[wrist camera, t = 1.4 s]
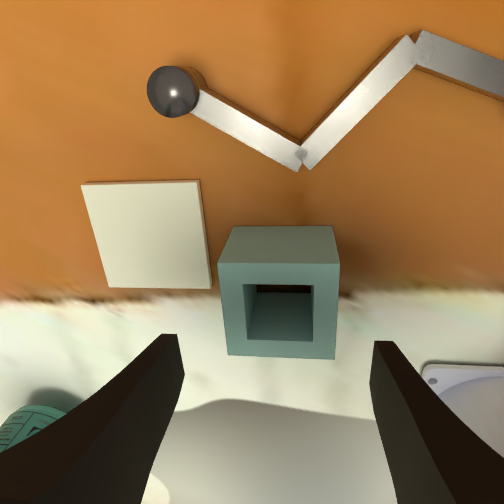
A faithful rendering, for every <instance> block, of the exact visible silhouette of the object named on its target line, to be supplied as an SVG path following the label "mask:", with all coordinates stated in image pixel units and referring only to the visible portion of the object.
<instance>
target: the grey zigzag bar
mask: <svg viewBox="0 0 504 504" xmlns="http://www.w3.org/2000/svg"><path fill="white" fill-rule="evenodd" d="M412 68H416V69H418V70H421V71H424V72H426V73H429V74H431V75H434V76H437V77H439V78H442V79H445V80H447V81H450V82H452V83H455V84H458V85H460V86H463V87H466V88H468V89H471V90H473V91H476V92H479V93H481V94H484V95H486V96H489V97H492V98H494V99H497V100H500V101H502V102H504V61H502V60H499V59H497V58H494V57H491V56H489V55H486V54H484V53H481V52H478V51H476V50H473V49H471V48H468V47H465V46H463V45H460V44H458V43H455V42H453V41H450V40H447V39H445V38H442V37H440V36H437V35H434V34H432V33H429V32H427V31H424V30H421V31H418V32H415V33H413V34H411V36H410V38H409V37H408V35H407V34H406V35H404V36H401V37H399V38H397V39H396V40H395V41H394V42H393V43H392V44H391V45H390V46H389V47H388V48H387V49H386V50H385V51H384V53H383V54H382V55H381V56H380V57H379V58H378V59H377V60H376V61H375V62H374V63H373V64H372V65H371V66H370V67H369V69H368V70H367V71H366V72H365V73H364V74H363V75H362V76H361V77H360V78H359V79H358V80H357V81H356V82H355V83H354V84H353V86H352V87H351V88H350V89H349V90H348V91H347V92H346V93H345V94H344V95H343V96H342V97H341V98H340V99H339V100H338V102H337V103H336V104H335V105H334V106H333V107H332V108H331V109H330V110H329V111H328V112H327V113H326V114H325V115H324V116H323V118H322V119H321V120H320V121H319V122H318V123H317V124H316V125H315V126H314V127H313V128H312V129H311V130H310V131H309V132H308V133H307V135H306V136H305V137H304V138H303V139H302V140H301V141H299V140H297V139H296V138H294V137H292V136H290V135H289V134H287V133H285V132H284V131H282V130H280V129H278V128H277V127H275V126H273V125H271V124H270V123H268V122H266V121H264V120H263V119H261V118H259V117H257V116H256V115H254V114H252V113H250V112H249V111H247V110H245V109H243V108H242V107H240V106H238V105H237V104H235V103H233V102H231V101H230V100H228V99H226V98H224V97H223V96H221V95H219V94H217V93H216V92H214V91H212V90H210V89H209V88H207V84H206V81H205V79H204V77H203V76H202V75H201V74H200V73H199V72H198V71H197V70H195V69H193V68H189V67H177V66H162V67H160V68H158V69H156V70H155V71H154V72H153V73H152V74H151V76H150V77H149V80H148V83H147V95H148V98H149V101H150V103H151V105H152V106H153V108H154V109H155V110H156V111H157V112H158V113H160V114H161V115H163V116H165V117H170V118H175V117H179V116H182V115H185V114H188V113H192V114H194V115H195V116H197V117H199V118H201V119H202V120H204V121H206V122H208V123H210V124H211V125H213V126H215V127H217V128H218V129H220V130H222V131H224V132H226V133H227V134H229V135H231V136H233V137H234V138H236V139H238V140H240V141H242V142H243V143H245V144H247V145H249V146H250V147H252V148H254V149H256V150H258V151H259V152H261V153H263V154H265V155H266V156H268V157H270V158H272V159H274V160H275V161H277V162H279V163H281V164H282V165H284V166H286V167H288V168H290V169H291V170H293V171H295V172H297V171H298V170H299V168H300V166H301V164H302V163H303V164H304V165H305V166H306V167H307V168H308V169H309V170H311V169H312V168H313V167H314V166H315V165H316V164H317V163H318V162H319V161H320V160H321V159H322V158H323V157H324V156H325V155H326V154H327V153H328V152H329V151H330V150H331V149H332V148H333V147H334V146H335V145H336V144H337V143H338V142H339V141H340V140H341V139H342V138H343V137H344V136H345V135H346V134H347V133H348V132H349V131H350V130H351V129H352V128H353V127H354V126H355V125H356V124H357V123H358V122H359V121H360V120H361V119H362V118H363V117H364V116H365V115H366V114H367V113H368V112H369V111H370V110H371V109H372V108H373V107H374V106H375V105H376V104H377V103H378V102H379V101H380V100H381V99H382V98H383V97H384V96H385V95H386V94H387V93H388V92H389V91H390V90H391V89H392V88H393V87H394V86H395V85H396V84H397V83H398V82H399V81H400V80H401V79H402V78H403V77H404V76H405V75H406V74H407V73H408V72H409V71H410V70H411V69H412Z"/></svg>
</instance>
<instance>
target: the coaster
mask: <svg viewBox="0 0 504 504" xmlns="http://www.w3.org/2000/svg"><path fill="white" fill-rule="evenodd" d="M81 188H82V192H83V195H84V199H85V203H86V206H87V210H88V213H89V217H90V220H91V224H92V228H93V231H94V235H95V238H96V242H97V245H98V249H99V253H100V256H101V260H102V263H103V267H104V270H105V274H106V278H107V281H108V285H109V287H128V288H190V289H211V286H212V276H211V268H210V260H209V253H208V245H207V237H206V229H205V221H204V213H203V206H202V198H201V190H200V182H199V180H167V181H131V182H94V183H85V184H83V185H81Z"/></svg>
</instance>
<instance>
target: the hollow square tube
mask: <svg viewBox="0 0 504 504" xmlns="http://www.w3.org/2000/svg"><path fill="white" fill-rule="evenodd" d="M217 267H218V275H219V284H220V292H221V301H222V309H223V318H224V326H225V335H226V343H227V352H228V355H236V356H259V357H283V358H306V359H330V360H335V346H336V328H337V311H338V293H339V276H340V260H339V256H338V251H337V246H336V241H335V236H334V231H333V227H332V226H233V229H232V231H231V233H230V235H229V238H228V240H227V242H226V244H225V246H224V249H223V251H222V253H221V255H220V258H219V260H218V262H217ZM256 284H279V285H311V293H272V292H257V287H256Z"/></svg>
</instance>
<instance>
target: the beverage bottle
mask: <svg viewBox="0 0 504 504" xmlns="http://www.w3.org/2000/svg"><path fill="white" fill-rule="evenodd" d="M65 414H66V413H64V412H62V411H60V410H58V409H55V408H52V407H49V406H43V405H28V406H24V407H22V408H20V409H19V410H17V411H16V412H14V413H13V414H11V415H10V416H9V417H8V419H7V420H6V421H5V422H4V423H3V424H2V426H1V427H0V452H2V451H4V450H6V449H8V448H10V447H12V446H14V445H16V444H17V443H19V442H21V441H23V440H25V439H26V438H28V437H30V436H32V435H33V434H35V433H37V432H39V431H40V430H42V429H43V428H45V427H47V426H48V425H50V424H51V423H53V422H54V421H56V420H58V419H59V418H61V417H62V416H64V415H65Z"/></svg>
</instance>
